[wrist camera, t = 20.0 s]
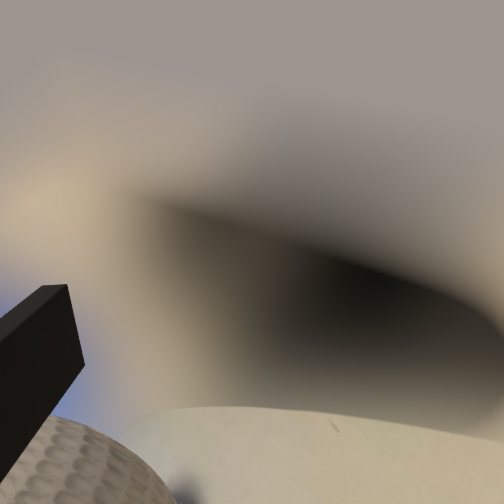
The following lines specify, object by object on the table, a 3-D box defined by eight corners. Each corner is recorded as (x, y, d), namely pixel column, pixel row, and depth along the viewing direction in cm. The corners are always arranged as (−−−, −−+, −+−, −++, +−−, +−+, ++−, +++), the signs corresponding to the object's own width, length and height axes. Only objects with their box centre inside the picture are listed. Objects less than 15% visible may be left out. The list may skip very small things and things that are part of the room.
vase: (164, 628, 44) (-111, 508, 35) (120, 584, 54) (-104, 481, 45) (220, 496, 51) (2, 366, 42) (171, 479, 61) (-14, 370, 51)
